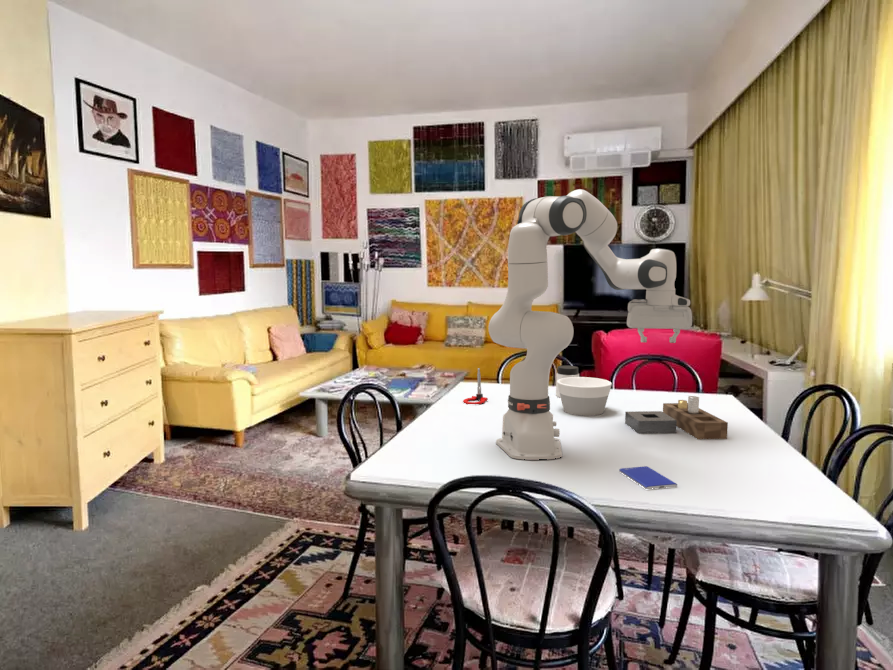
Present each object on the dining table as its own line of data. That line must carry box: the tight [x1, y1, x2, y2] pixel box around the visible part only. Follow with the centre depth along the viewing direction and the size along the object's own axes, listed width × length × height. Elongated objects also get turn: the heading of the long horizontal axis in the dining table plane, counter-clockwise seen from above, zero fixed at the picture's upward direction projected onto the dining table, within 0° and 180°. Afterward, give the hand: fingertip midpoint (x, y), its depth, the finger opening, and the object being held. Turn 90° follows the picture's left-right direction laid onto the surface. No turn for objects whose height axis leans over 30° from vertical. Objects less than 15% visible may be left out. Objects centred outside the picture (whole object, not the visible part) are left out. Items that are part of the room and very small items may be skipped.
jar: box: [555, 365, 580, 399], centre depth 236 cm, size 9×8×12 cm
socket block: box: [624, 410, 677, 434], centre depth 189 cm, size 12×12×4 cm
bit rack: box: [662, 402, 729, 440], centre depth 190 cm, size 26×9×5 cm, turn 2°
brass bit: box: [677, 399, 688, 408], centre depth 197 cm, size 3×3×7 cm
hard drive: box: [618, 465, 678, 490], centre depth 143 cm, size 2×8×12 cm
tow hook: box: [462, 367, 489, 405], centre depth 226 cm, size 8×13×9 cm
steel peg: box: [687, 395, 700, 414], centre depth 189 cm, size 3×3×10 cm
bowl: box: [557, 376, 613, 417], centre depth 212 cm, size 19×19×11 cm
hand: (658, 342), depth 191 cm, fingers open, 8 cm apart
